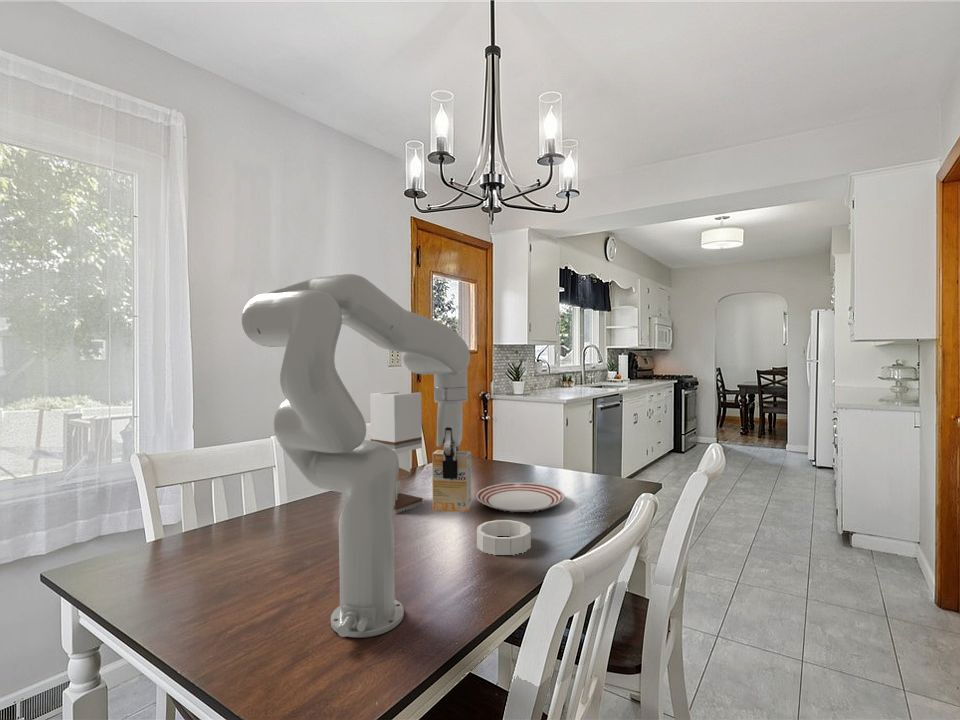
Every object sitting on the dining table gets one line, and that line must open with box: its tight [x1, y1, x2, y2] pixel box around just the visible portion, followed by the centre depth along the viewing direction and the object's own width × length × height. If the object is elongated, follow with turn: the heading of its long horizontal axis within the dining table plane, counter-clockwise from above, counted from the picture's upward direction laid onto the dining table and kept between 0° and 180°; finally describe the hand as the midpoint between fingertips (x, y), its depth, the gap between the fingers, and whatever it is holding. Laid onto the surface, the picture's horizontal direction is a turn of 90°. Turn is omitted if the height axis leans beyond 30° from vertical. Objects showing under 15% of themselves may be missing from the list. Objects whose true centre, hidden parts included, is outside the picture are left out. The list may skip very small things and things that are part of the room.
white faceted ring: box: [476, 519, 532, 556], centre depth 123 cm, size 13×13×4 cm
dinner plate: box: [475, 482, 565, 513], centre depth 157 cm, size 27×27×3 cm
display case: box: [369, 390, 424, 515], centre depth 156 cm, size 11×11×35 cm
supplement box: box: [431, 449, 472, 513], centre depth 114 cm, size 8×5×13 cm, turn 79°
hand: (451, 474), depth 114 cm, fingers closed on supplement box, 5 cm apart
